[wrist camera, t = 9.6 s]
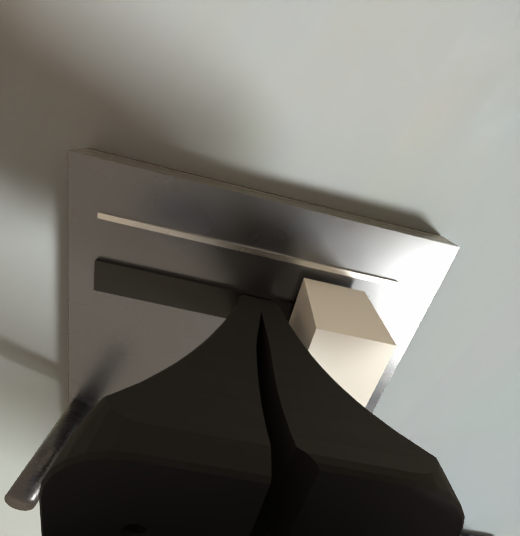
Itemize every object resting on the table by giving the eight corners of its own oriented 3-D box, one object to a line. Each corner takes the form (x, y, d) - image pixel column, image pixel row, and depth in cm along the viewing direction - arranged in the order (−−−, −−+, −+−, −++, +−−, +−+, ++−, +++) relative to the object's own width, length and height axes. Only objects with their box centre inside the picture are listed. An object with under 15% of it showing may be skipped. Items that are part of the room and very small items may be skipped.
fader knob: (365, 291, 11) (398, 346, 8) (332, 370, 13) (350, 438, 10) (302, 277, 11) (314, 328, 8) (275, 358, 12) (278, 424, 10)
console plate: (441, 236, 12) (579, 321, 7) (302, 515, 19) (316, 661, 14) (87, 148, 11) (-77, 168, 6) (81, 478, 18) (6, 622, 13)
